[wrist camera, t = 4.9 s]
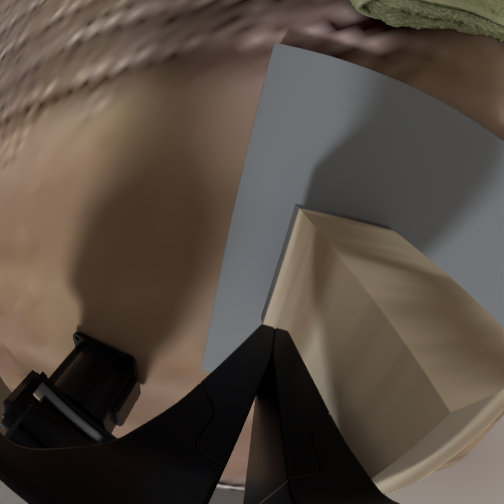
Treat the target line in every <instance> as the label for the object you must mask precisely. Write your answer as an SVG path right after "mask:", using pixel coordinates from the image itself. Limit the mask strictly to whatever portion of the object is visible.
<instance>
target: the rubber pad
mask: <svg viewBox="0 0 504 504" xmlns="http://www.w3.org/2000/svg"><path fill="white" fill-rule="evenodd" d="M295 204H299V205H304V206H308V207H313V208H317V209H321V210H326V211H330V212H334V213H338V214H342V215H347V216H351V217H355V218H359V219H363V220H367V221H370V222H374V223H378V224H382V225H386V226H389V227H390V228H391V229H393V230H394V231H395V232H396V233H398V234H399V235H400V236H402V237H403V238H404V239H405V240H407V241H408V242H409V243H410V244H412V245H413V246H414V247H415V248H417V249H418V250H419V251H420V252H422V253H423V254H424V255H425V256H426V257H428V258H429V259H430V260H431V261H432V262H434V263H435V264H436V265H437V266H438V267H439V268H441V269H442V270H443V271H444V272H445V273H446V274H447V275H449V276H450V277H451V278H452V279H453V280H454V281H455V282H456V283H457V284H459V285H460V286H461V287H462V288H463V289H464V290H465V291H466V292H467V293H468V294H469V295H470V296H472V297H473V298H474V299H475V300H476V301H477V302H478V303H479V304H480V305H481V306H482V307H483V308H484V309H485V310H486V311H487V312H488V313H489V314H490V315H491V316H492V317H493V318H494V319H495V320H496V321H497V322H498V323H499V324H500V325H501V326H502V327H503V329H504V141H503V140H502V139H500V138H499V137H497V136H496V135H495V134H493V133H492V132H490V131H489V130H487V129H486V128H484V127H483V126H481V125H480V124H478V123H477V122H475V121H474V120H472V119H470V118H469V117H467V116H466V115H464V114H462V113H461V112H459V111H457V110H456V109H454V108H452V107H450V106H448V105H447V104H445V103H443V102H441V101H439V100H437V99H436V98H434V97H432V96H430V95H428V94H426V93H424V92H422V91H420V90H418V89H415V88H413V87H411V86H409V85H407V84H405V83H402V82H400V81H398V80H395V79H393V78H391V77H388V76H386V75H383V74H381V73H378V72H376V71H373V70H370V69H368V68H365V67H362V66H359V65H356V64H353V63H350V62H347V61H344V60H341V59H338V58H335V57H331V56H328V55H324V54H321V53H317V52H313V51H309V50H305V49H301V48H297V47H292V46H287V45H283V44H278V43H274V47H273V50H272V54H271V58H270V62H269V65H268V69H267V73H266V77H265V81H264V84H263V88H262V92H261V96H260V100H259V104H258V108H257V112H256V116H255V120H254V124H253V128H252V132H251V137H250V141H249V145H248V149H247V153H246V157H245V162H244V166H243V170H242V175H241V179H240V183H239V188H238V192H237V196H236V201H235V205H234V210H233V214H232V219H231V224H230V228H229V233H228V237H227V242H226V247H225V251H224V256H223V261H222V266H221V271H220V275H219V280H218V285H217V290H216V295H215V300H214V305H213V310H212V315H211V321H210V326H209V331H208V336H207V342H206V347H205V352H204V358H203V363H202V369H201V370H203V371H206V372H209V373H211V372H212V371H214V370H215V369H216V368H217V367H218V366H219V365H220V364H221V363H222V362H223V361H224V360H225V359H226V358H227V357H228V356H229V355H230V354H231V353H232V352H233V351H234V350H235V349H236V348H238V347H239V346H240V345H241V344H242V343H243V342H244V341H245V340H246V339H247V338H248V337H249V336H250V335H251V334H252V333H253V332H254V331H255V330H256V329H257V328H258V327H259V326H260V325H261V324H262V320H261V315H262V312H263V309H264V306H265V302H266V299H267V296H268V293H269V290H270V287H271V283H272V280H273V277H274V274H275V270H276V267H277V264H278V261H279V257H280V254H281V251H282V247H283V244H284V241H285V237H286V234H287V231H288V227H289V224H290V220H291V217H292V214H293V210H294V207H295Z"/></svg>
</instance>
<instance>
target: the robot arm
mask: <svg viewBox="0 0 504 504" xmlns="http://www.w3.org/2000/svg"><path fill="white" fill-rule="evenodd" d="M73 339H74V343H75V348H74V349H73V351H72V352H71V353H70V354H69V355H68V356H67V357H66V359H65V360H64V361H63V362H62V363H61V364H60V365H59V367H58V368H57V369H56V370H55V371H54V372H53V374H52V375H51V376H50V377H49V378H47V375H46V374H45V373H44V372H42V373H41V374H40V375H39V373H36V372H35V371H33V370H32V371H31V372H30V373H29V374H28V376H27V377H26V378H25V379H24V380H23V381H22V382H21V383H20V384H19V386H18V387H17V388H16V389H15V390H14V391H13V392H12V393H11V394H10V395H9V396H8V398H7V399H6V400H5V401H4V402H3V410H4V414H3V415H2V417H3V418H4V419H3V420H2V422H1V423H0V425H1V426H2V427H3V428H4V429H5V430H6V432H5V434H4V435H3V434H2V433H0V504H208V503H209V501H210V499H211V497H212V495H213V492H214V491H215V488H216V486H217V484H218V482H219V480H220V478H221V475H222V473H223V471H224V469H225V467H226V464H227V462H228V460H229V458H230V456H231V453H232V451H233V449H234V447H235V444H236V442H237V440H238V437H239V435H240V433H241V430H242V428H243V426H244V423H245V421H246V418H247V416H248V414H249V411H250V409H251V406H252V404H253V401H254V399H255V406H254V415H253V424H252V433H251V442H250V451H249V459H248V468H247V476H246V484H245V492H244V500H243V504H399V503H397V502H395V501H393V500H391V499H390V498H388V497H387V496H386V495H384V494H383V493H382V492H381V491H380V490H379V489H378V487H377V486H376V485H375V483H374V482H373V481H372V479H371V478H370V476H369V475H368V474H367V472H366V471H365V469H364V468H363V466H362V465H361V464H360V462H359V461H358V459H357V458H356V456H355V455H354V453H353V452H352V450H351V449H350V447H349V446H348V444H347V443H346V441H345V440H344V438H343V436H342V434H341V433H340V431H339V429H338V427H337V425H336V423H335V422H334V420H333V418H332V416H331V414H329V413H330V412H329V410H328V408H327V406H326V404H325V402H324V400H323V398H322V396H321V394H320V392H319V390H318V388H317V387H316V385H315V383H314V381H313V379H312V377H311V375H310V373H309V371H308V369H307V367H306V365H305V363H304V361H303V359H302V357H301V355H300V353H299V351H298V349H297V347H296V345H295V343H294V341H293V339H292V337H291V335H290V333H289V332H288V331H287V330H284V329H280V328H275V329H274V327H272V326H268V325H265V324H261V325H260V326H259V327H258V328H257V329H256V330H255V331H254V332H253V333H252V334H251V335H250V336H249V337H248V338H247V339H246V340H245V341H244V342H243V343H242V344H241V345H240V346H239V347H238V348H236V349H235V350H234V351H233V352H232V353H231V354H230V355H229V356H228V357H227V358H226V359H225V360H224V361H223V362H222V363H221V364H220V365H219V366H218V367H217V368H216V369H215V370H214V371H212V372H211V373H210V374H209V375H208V376H207V377H206V378H205V379H204V380H203V381H202V382H201V383H200V384H198V385H197V386H196V387H195V388H194V389H193V390H192V391H191V392H189V393H188V394H187V395H186V396H185V397H183V398H182V399H181V400H180V401H179V402H177V403H176V404H174V405H173V406H171V407H170V408H169V409H167V410H166V411H164V412H163V413H161V414H160V415H158V416H156V417H155V418H153V419H152V420H150V421H148V422H147V423H145V424H143V425H142V426H140V427H138V428H137V429H135V430H133V431H132V432H130V433H128V434H126V435H125V436H123V437H121V438H116V437H115V436H113V435H112V434H111V433H112V431H113V429H114V428H115V426H116V425H118V426H122V425H123V424H124V422H125V420H126V418H127V417H128V415H129V413H130V411H131V410H132V408H133V406H134V404H135V402H136V401H137V400H138V398H139V395H140V394H139V383H138V379H137V376H136V362H135V360H134V359H133V358H132V357H131V356H129V355H126V354H124V353H122V352H119V351H117V350H115V349H113V348H111V347H108V346H106V345H104V344H102V343H100V342H98V341H96V340H94V339H92V338H90V337H88V336H86V335H84V334H82V333H80V332H75V333H74V334H73ZM33 393H35V394H36V395H37V396H38V397H39V398H40V400H39V401H38V400H37V399H36V398H35V397H34V396H33ZM255 396H256V398H255Z"/></svg>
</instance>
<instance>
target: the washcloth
mask: <svg viewBox="0 0 504 504" xmlns="http://www.w3.org/2000/svg"><path fill="white" fill-rule="evenodd" d="M350 1H351V3H352V5H353V6H354V7H355V9H356V10H357V11H358V12H359V13H361V14H363V15H365V16H368V17H372V18H375V19H381V20H382V21H383V22H385V23H386V24H387V25H391V26H394V27H400V26H405V27H407V26H408V27H412V28H415V29H417V30H419V29H422V28H432V29H435V28H439V29H448V28H451V29H456V30H457V31H459V32H462V33H469V34H473V35H477V34H481V35H484V36H485V37H487V36H490V35H491V36H492V37H493V38H498V39H499V40H500V41H501V42H503V41H504V0H350Z"/></svg>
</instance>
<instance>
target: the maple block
mask: <svg viewBox="0 0 504 504" xmlns="http://www.w3.org/2000/svg"><path fill="white" fill-rule="evenodd" d="M261 320H262V324H265V325H268V326H272V327H274V329H275V328H280V329H284V330H287V331H288V332H289V333H290V335H291V337H292V339H293V341H294V343H295V345H296V347H297V349H298V351H299V353H300V355H301V357H302V359H303V361H304V363H305V365H306V367H307V369H308V371H309V373H310V375H311V377H312V379H313V381H314V383H315V385H316V387H317V388H318V390H319V392H320V394H321V396H322V398H323V400H324V402H325V404H326V406H327V408H328V410H329V412H330V413H329V414H331V416H332V418H333V420H334V422H335V423H336V425H337V427H338V429H339V431H340V433H341V434H342V436H343V438H344V440H345V441H346V443H347V444H348V446H349V447H350V449H351V450H352V452H353V453H354V455H355V456H356V458H357V459H358V461H359V462H360V464H361V465H362V466H363V468H364V469H365V471H366V472H367V474H368V475H369V476H370V478H371V479H372V481H373V482H374V483H375V485H376V486H377V487H378V489H379V490H380V491H381V492H382V493H383V494H387V493H390V492H392V491H395V490H397V489H400V488H402V487H405V486H407V485H410V484H412V483H414V482H416V481H419V480H421V479H423V478H425V477H426V476H428V475H429V474H431V473H432V472H434V471H435V470H436V469H438V468H439V467H441V466H442V465H443V464H445V463H446V462H447V461H449V460H450V459H451V458H452V457H454V456H455V455H456V454H457V453H459V452H460V451H461V450H462V449H464V448H465V447H466V446H467V445H468V444H469V443H471V442H472V441H473V440H474V439H475V438H476V437H477V436H478V435H480V434H481V433H482V432H483V431H484V430H485V429H486V428H487V427H488V426H489V425H490V424H491V423H492V422H493V421H494V420H495V419H496V418H497V417H498V416H499V415H500V414H501V413H502V412H503V411H504V329H503V327H502V326H501V325H500V324H499V323H498V322H497V321H496V320H495V319H494V318H493V317H492V316H491V315H490V314H489V313H488V312H487V311H486V310H485V309H484V308H483V307H482V306H481V305H480V304H479V303H478V302H477V301H476V300H475V299H474V298H473V297H472V296H470V295H469V294H468V293H467V292H466V291H465V290H464V289H463V288H462V287H461V286H460V285H459V284H457V283H456V282H455V281H454V280H453V279H452V278H451V277H450V276H449V275H447V274H446V273H445V272H444V271H443V270H442V269H441V268H439V267H438V266H437V265H436V264H435V263H434V262H432V261H431V260H430V259H429V258H428V257H426V256H425V255H424V254H423V253H422V252H420V251H419V250H418V249H417V248H415V247H414V246H413V245H412V244H410V243H409V242H408V241H407V240H405V239H404V238H403V237H402V236H400V235H399V234H398V233H396V232H395V231H394V230H393V229H391V228H390V227H389V226H386V225H382V224H378V223H374V222H370V221H367V220H363V219H359V218H355V217H351V216H347V215H342V214H338V213H334V212H330V211H326V210H321V209H317V208H313V207H308V206H304V205H299V204H295V207H294V210H293V214H292V217H291V220H290V224H289V227H288V231H287V234H286V237H285V241H284V244H283V247H282V251H281V254H280V257H279V261H278V264H277V267H276V270H275V274H274V277H273V280H272V283H271V287H270V290H269V293H268V296H267V299H266V302H265V306H264V309H263V312H262V315H261Z"/></svg>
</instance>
